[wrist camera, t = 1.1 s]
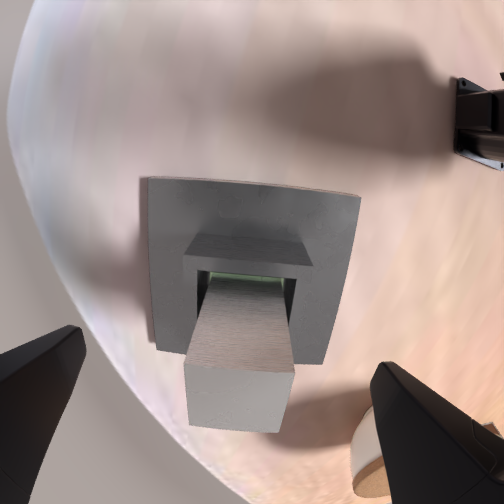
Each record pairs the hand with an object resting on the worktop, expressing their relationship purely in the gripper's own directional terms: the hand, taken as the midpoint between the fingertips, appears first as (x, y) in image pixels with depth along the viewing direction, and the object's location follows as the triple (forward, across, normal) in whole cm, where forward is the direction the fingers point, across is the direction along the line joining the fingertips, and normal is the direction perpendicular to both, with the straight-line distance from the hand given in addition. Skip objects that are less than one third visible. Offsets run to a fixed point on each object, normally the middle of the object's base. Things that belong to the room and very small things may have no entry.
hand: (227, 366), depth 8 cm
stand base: (+13, -1, +4) cm, 14 cm away
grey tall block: (+12, -1, +4) cm, 13 cm away
